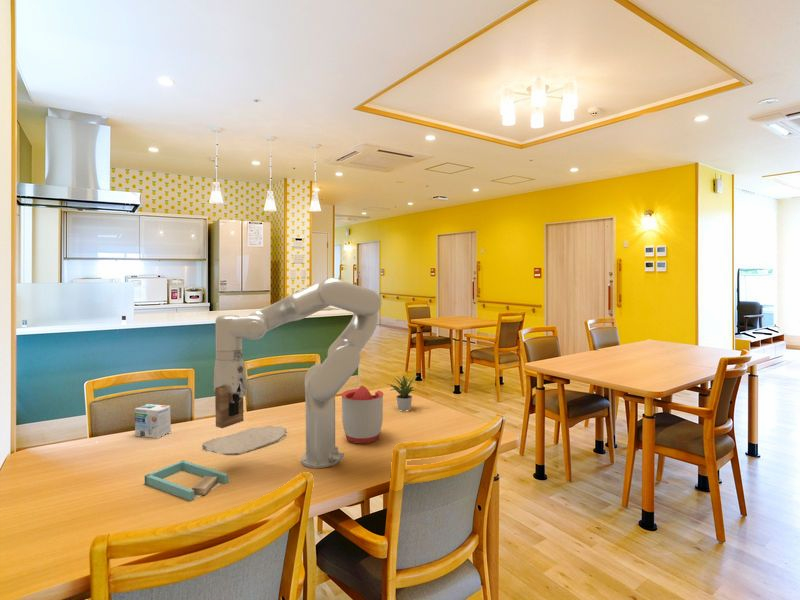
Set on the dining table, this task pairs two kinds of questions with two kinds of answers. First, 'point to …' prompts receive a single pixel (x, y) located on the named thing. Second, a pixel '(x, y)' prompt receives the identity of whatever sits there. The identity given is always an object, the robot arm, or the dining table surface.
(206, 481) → the offcut slab upper
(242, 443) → the stone tablet
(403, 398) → the house plant
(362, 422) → the citrus juicer
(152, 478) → the open frame
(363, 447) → the dining table surface
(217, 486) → the offcut slab lower
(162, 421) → the light bulb box
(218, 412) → the tall oak sheet
